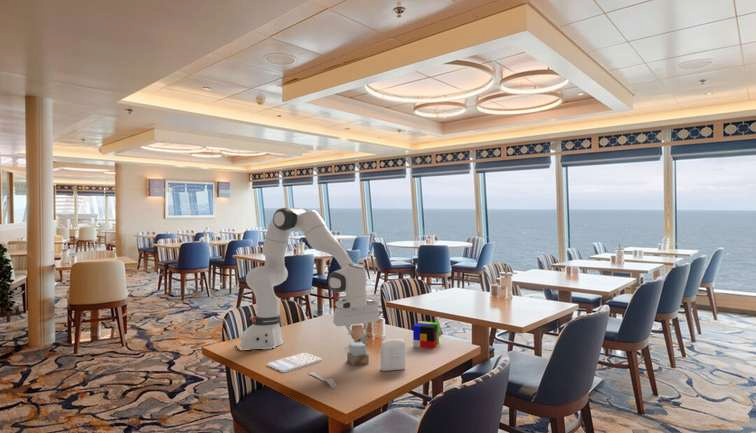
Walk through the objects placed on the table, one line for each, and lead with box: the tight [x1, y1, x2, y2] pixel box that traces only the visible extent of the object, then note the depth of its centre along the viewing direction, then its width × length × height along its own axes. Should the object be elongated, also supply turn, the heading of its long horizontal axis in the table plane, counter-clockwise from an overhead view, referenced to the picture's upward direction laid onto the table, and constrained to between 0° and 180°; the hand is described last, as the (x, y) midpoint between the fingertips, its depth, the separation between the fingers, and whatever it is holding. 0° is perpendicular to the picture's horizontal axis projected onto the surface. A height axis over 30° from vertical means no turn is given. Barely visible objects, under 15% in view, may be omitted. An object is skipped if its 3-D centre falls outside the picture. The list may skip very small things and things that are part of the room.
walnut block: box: [346, 351, 370, 367], centre depth 187 cm, size 7×7×4 cm
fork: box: [307, 371, 338, 390], centre depth 167 cm, size 3×21×3 cm, turn 36°
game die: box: [350, 332, 370, 345], centre depth 214 cm, size 9×8×10 cm
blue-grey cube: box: [349, 342, 367, 356], centre depth 188 cm, size 6×6×4 cm
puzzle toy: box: [412, 320, 440, 349], centre depth 212 cm, size 10×10×10 cm
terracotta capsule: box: [351, 324, 363, 340], centre depth 187 cm, size 5×5×5 cm
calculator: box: [266, 352, 323, 373], centre depth 187 cm, size 13×20×2 cm, turn 135°
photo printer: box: [380, 338, 406, 372], centre depth 179 cm, size 10×4×12 cm, turn 103°
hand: (356, 333), depth 187 cm, fingers closed on terracotta capsule, 5 cm apart
